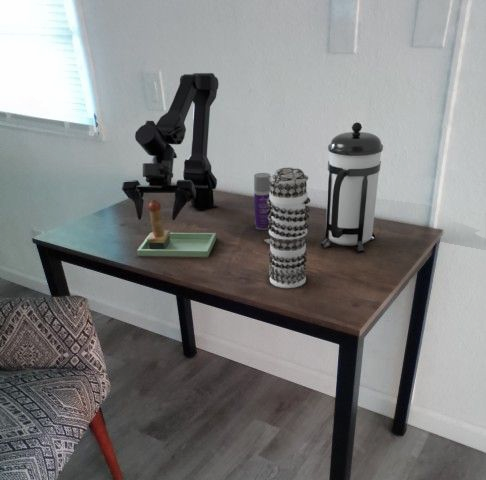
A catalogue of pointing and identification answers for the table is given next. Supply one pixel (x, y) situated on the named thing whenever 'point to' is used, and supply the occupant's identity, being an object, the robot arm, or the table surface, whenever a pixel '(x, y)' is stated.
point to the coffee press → (352, 188)
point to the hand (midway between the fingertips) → (156, 219)
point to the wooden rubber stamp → (157, 228)
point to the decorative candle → (288, 227)
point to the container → (261, 200)
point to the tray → (182, 245)
